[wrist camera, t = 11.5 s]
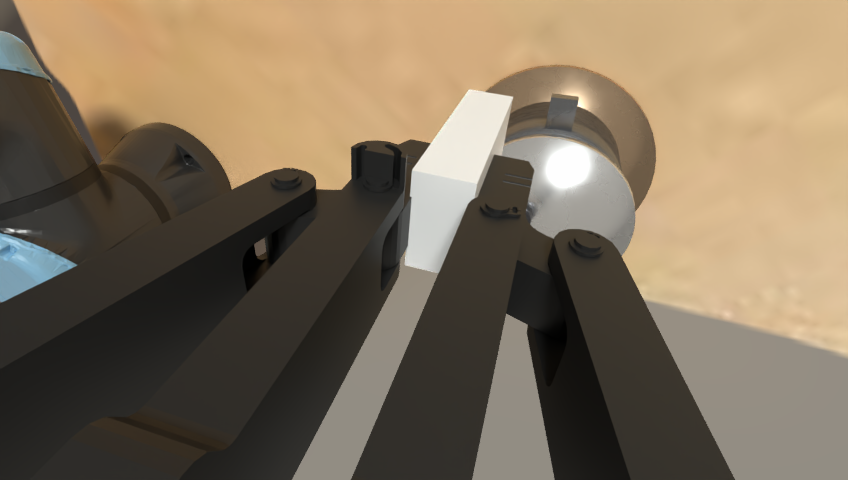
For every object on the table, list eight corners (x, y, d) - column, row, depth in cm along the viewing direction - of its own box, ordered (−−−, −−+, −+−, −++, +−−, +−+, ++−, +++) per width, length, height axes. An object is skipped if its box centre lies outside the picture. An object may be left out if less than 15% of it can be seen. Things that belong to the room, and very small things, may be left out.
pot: (447, 227, 53) (426, 272, 46) (462, 53, 42) (438, 77, 35) (621, 261, 49) (626, 316, 42) (687, 79, 38) (709, 112, 32)
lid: (450, 258, 44) (442, 273, 42) (463, 118, 36) (454, 129, 34) (607, 297, 40) (606, 316, 38) (660, 151, 32) (662, 165, 30)
